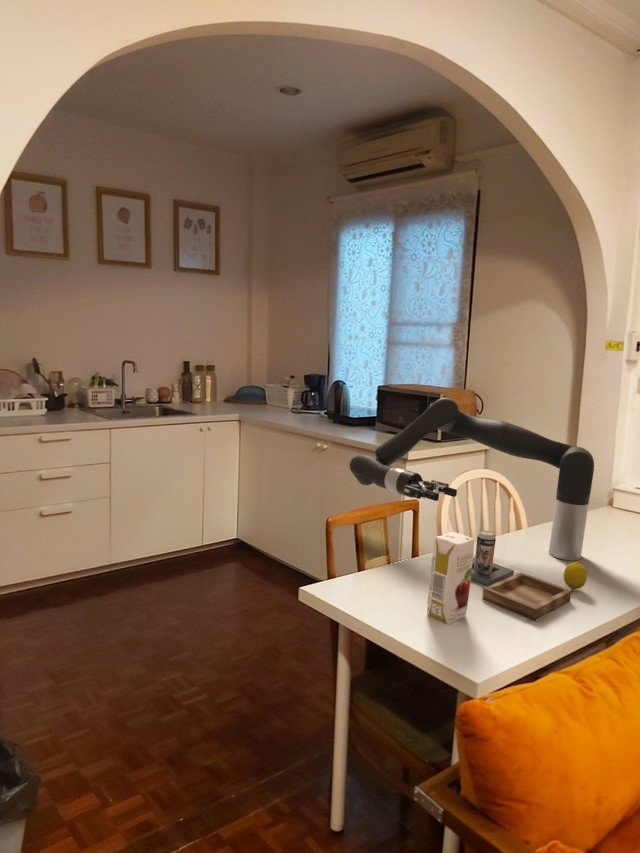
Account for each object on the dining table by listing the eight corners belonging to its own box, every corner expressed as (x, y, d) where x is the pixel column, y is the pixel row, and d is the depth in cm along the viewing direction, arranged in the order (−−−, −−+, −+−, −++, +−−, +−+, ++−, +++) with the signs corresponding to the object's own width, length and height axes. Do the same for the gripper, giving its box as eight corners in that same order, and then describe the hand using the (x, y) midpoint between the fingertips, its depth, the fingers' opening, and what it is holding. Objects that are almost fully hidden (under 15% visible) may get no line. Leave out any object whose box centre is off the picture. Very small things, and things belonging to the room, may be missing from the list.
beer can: (473, 576, 169) (478, 534, 167) (473, 570, 173) (477, 529, 171) (491, 579, 168) (496, 537, 166) (490, 573, 172) (495, 531, 170)
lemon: (582, 588, 166) (587, 559, 165) (585, 596, 161) (590, 567, 160) (560, 584, 168) (564, 556, 166) (563, 592, 162) (567, 563, 161)
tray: (519, 582, 167) (520, 572, 166) (570, 602, 157) (571, 590, 156) (482, 599, 155) (483, 588, 154) (534, 621, 145) (535, 609, 144)
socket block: (475, 563, 179) (476, 556, 179) (513, 577, 170) (514, 570, 170) (451, 572, 171) (451, 565, 170) (489, 587, 162) (490, 580, 162)
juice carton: (421, 614, 144) (429, 536, 141) (443, 605, 150) (451, 529, 147) (449, 627, 139) (458, 546, 136) (470, 616, 145) (479, 538, 142)
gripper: (389, 472, 184) (433, 485, 172) (419, 467, 193) (463, 479, 182) (386, 497, 185) (430, 511, 173) (416, 491, 194) (460, 504, 183)
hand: (447, 495), depth 177 cm, fingers open, 8 cm apart
